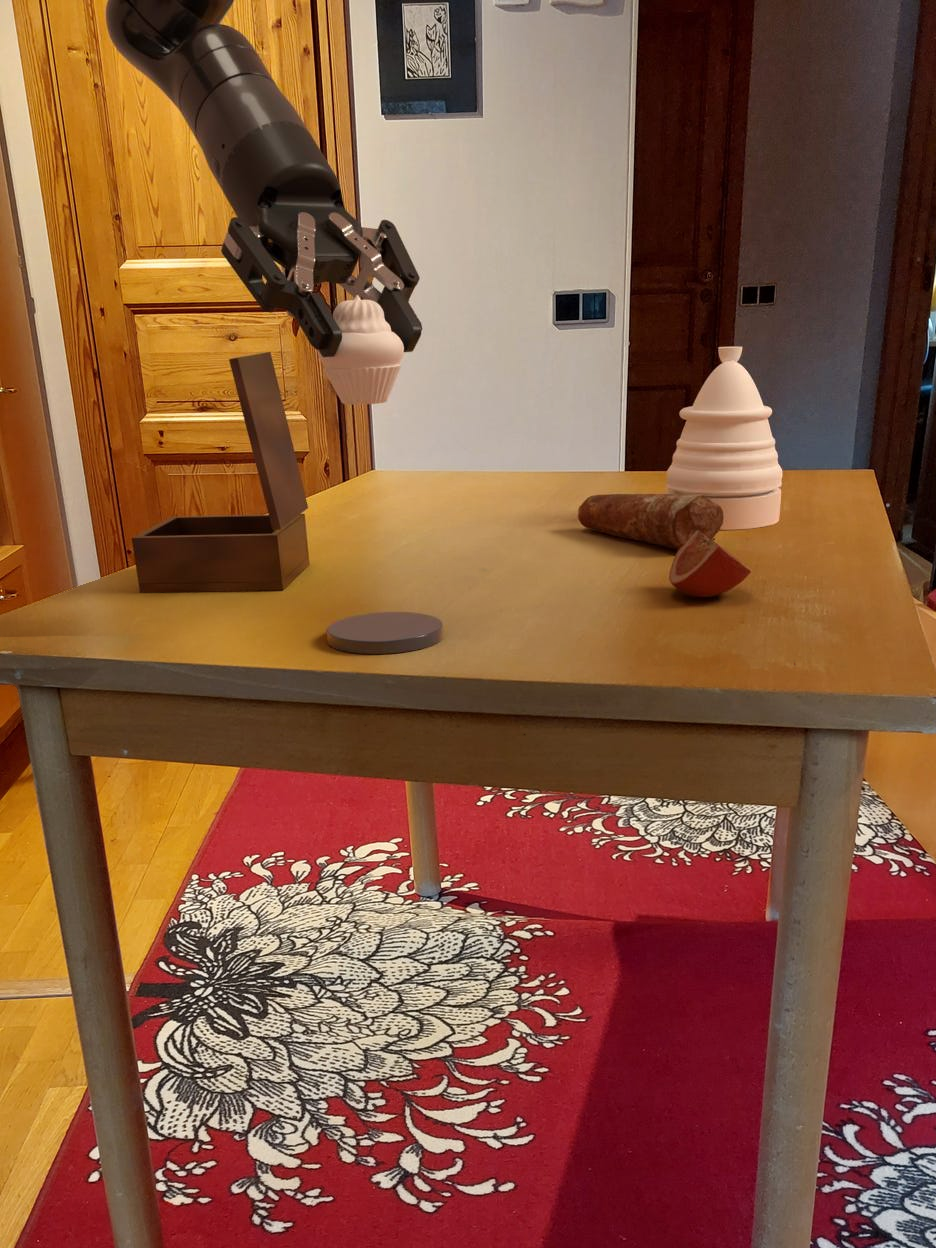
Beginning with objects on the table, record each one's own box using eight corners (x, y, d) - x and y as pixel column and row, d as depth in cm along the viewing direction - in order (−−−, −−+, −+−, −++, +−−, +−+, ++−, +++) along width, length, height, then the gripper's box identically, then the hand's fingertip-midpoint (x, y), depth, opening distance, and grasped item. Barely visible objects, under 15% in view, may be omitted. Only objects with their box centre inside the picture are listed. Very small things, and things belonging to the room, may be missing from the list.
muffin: (424, 400, 84) (419, 293, 81) (366, 407, 80) (358, 294, 77) (362, 398, 88) (355, 295, 85) (303, 405, 84) (293, 297, 81)
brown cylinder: (679, 557, 115) (681, 499, 113) (568, 531, 130) (568, 479, 128) (728, 549, 118) (731, 492, 115) (614, 524, 133) (615, 473, 130)
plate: (316, 655, 87) (315, 641, 87) (339, 624, 95) (338, 612, 95) (436, 653, 87) (435, 640, 86) (449, 623, 95) (448, 610, 94)
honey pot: (665, 510, 140) (671, 347, 132) (775, 509, 138) (787, 343, 130) (663, 530, 129) (669, 352, 121) (783, 529, 127) (797, 348, 119)
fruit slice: (660, 585, 104) (662, 528, 102) (735, 583, 104) (738, 525, 102) (677, 608, 97) (680, 547, 94) (758, 605, 97) (763, 543, 95)
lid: (228, 359, 99) (237, 357, 99) (262, 353, 110) (270, 351, 110) (272, 530, 105) (281, 529, 105) (300, 509, 116) (308, 508, 116)
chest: (139, 592, 109) (131, 537, 107) (178, 566, 119) (171, 516, 117) (283, 590, 108) (277, 535, 105) (309, 564, 118) (305, 513, 116)
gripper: (190, 111, 77) (304, 306, 74) (367, 124, 86) (477, 300, 82) (165, 208, 83) (269, 392, 80) (333, 211, 92) (434, 379, 88)
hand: (374, 345), depth 81 cm, fingers closed on muffin, 6 cm apart
